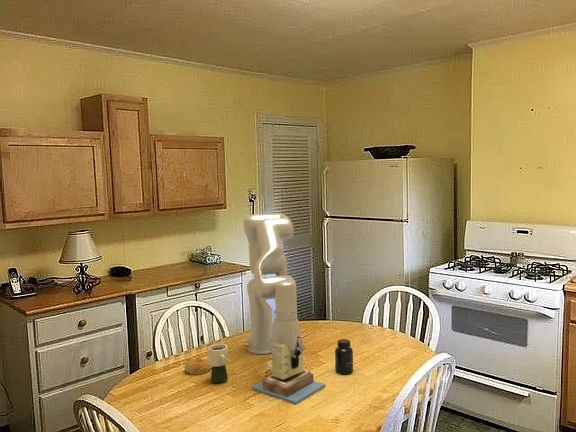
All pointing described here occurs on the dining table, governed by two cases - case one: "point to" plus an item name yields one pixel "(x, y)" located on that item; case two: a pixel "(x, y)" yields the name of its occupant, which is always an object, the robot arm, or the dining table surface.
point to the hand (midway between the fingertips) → (287, 364)
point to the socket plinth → (288, 383)
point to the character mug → (218, 362)
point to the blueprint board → (295, 397)
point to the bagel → (197, 366)
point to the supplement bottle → (344, 357)
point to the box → (284, 361)
